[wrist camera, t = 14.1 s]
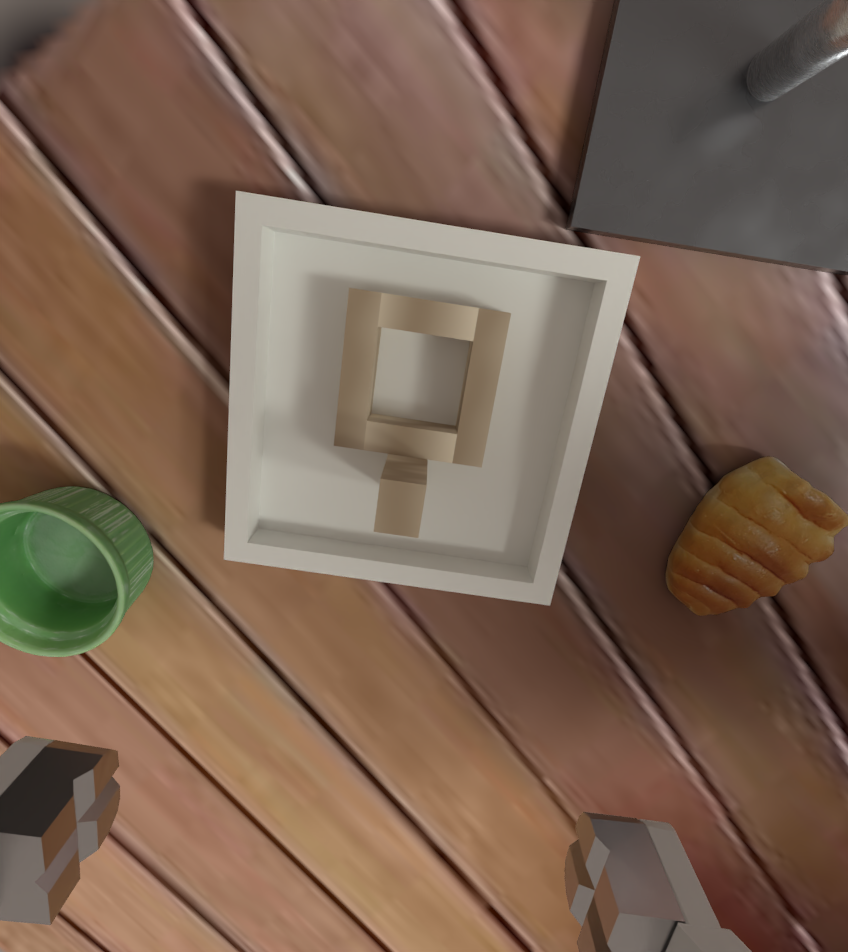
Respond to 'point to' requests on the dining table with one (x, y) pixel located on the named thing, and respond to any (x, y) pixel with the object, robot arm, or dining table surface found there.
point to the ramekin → (68, 570)
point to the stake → (722, 130)
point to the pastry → (751, 538)
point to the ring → (410, 437)
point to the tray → (412, 396)
